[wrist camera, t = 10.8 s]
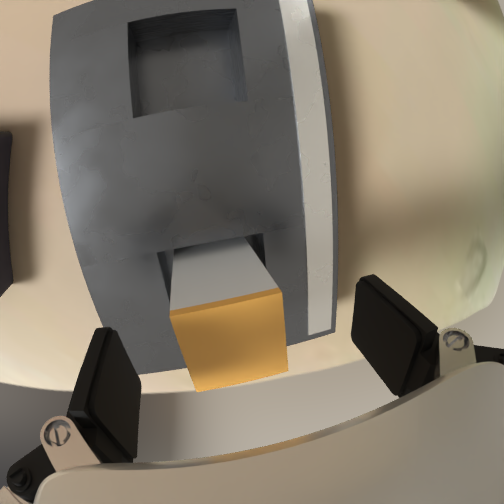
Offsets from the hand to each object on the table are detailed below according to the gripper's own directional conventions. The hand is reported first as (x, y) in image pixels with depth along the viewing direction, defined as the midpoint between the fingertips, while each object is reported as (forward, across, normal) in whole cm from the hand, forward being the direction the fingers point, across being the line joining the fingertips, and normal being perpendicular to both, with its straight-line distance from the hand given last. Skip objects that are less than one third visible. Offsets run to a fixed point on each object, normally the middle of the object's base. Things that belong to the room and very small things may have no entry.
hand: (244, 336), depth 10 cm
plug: (+8, +1, +1) cm, 8 cm away
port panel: (+9, +1, -5) cm, 10 cm away
